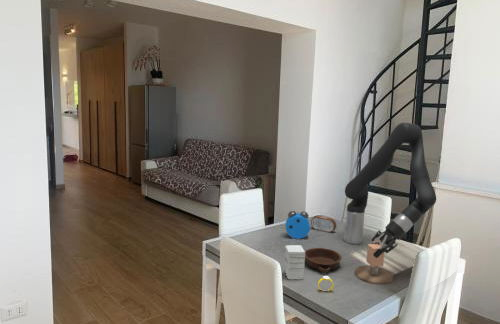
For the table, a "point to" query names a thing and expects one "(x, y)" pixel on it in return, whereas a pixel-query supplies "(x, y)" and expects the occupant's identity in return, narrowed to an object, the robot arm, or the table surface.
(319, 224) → the copper desk clock
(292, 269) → the supplement box
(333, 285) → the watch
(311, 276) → the table surface
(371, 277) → the post stand
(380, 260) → the salmon pink block
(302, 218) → the alarm clock
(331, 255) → the dish
